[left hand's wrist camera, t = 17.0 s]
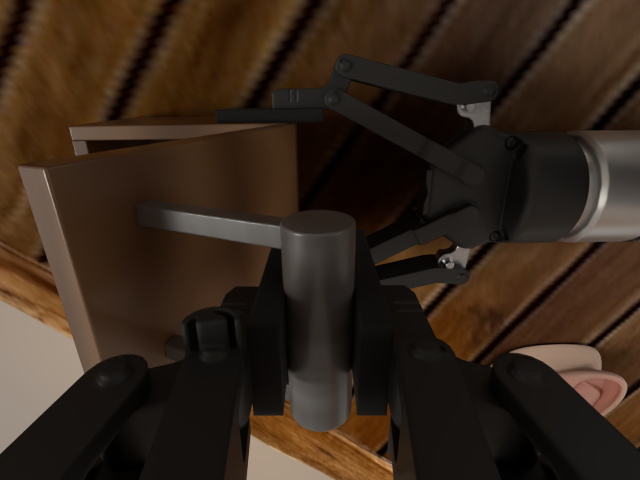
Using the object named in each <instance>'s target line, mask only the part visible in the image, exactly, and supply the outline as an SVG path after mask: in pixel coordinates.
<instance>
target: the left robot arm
mask: <svg viewBox="0 0 640 480" xmlns="http://www.w3.org/2000/svg"><path fill="white" fill-rule="evenodd" d="M181 330H182V336H183V342H184V348H185V356H184V359H182V360H180V361H177V362H174V363H171V364H166V365H162V366H157V367H153V368H148V363H147V361H146V360H145V359H144V358H143V357H142V356H138V355H135V354H124V355H118V356H114V357H111V358H108V359H106V360H104V361H102V362H99V363H97V364H96V365H95V366H93V367H92V368H91V369H89V370H88V371H87V372H86V373H85V374H84V375H83V376H82V377H80V379H78V380H77V381H76V382H75V383H74V384H73V385H72V386H71V387H70V388H69V389H68V390H67V391H66V392H65V393H64V394H63V395H62V396H61V397H60V398H59V399H57V400H56V401H55V402H54V403H53V404H52V405H51V406H50V407H49V408H48V409H47V410H46V411H45V412H44V413H43V414H42V415H41V416H40V417H39V418H38V419H37V420H36V421H34V422H33V423H32V424H31V425H30V426H29V427H28V428H27V429H26V430H25V431H24V432H23V433H22V434H21V435H20V436H19V437H18V438H17V439H16V440H15V441H14V442H13V443H11V444H10V445H9V446H8V447H7V448H6V449H5V450H4V451H3V452H2V453H1V454H0V480H246V479H247V467H248V456H249V445H250V434H251V430H250V419H249V416H250V412H251V407H252V403H253V412H254V415H283V411H284V402H285V394H286V385H287V376H288V349H287V328H286V306H285V291H284V288H283V273H282V256H281V249H277V248H271V250H270V253H269V256H268V259H267V262H266V266H265V269H264V272H263V275H262V278H261V281H260V284H259V286H236V287H234V288H233V289H232V290H231V291H229V292H228V293H227V294H226V295H225V297H224V299H223V301H222V303H221V306H220V307H216V306H215V307H209V308H203V309H201V310H198V311H195V312H193V313H191V314H190V315H188V316H187V317H185V319H184V320H183V321H182V322H181ZM352 373H353V382H354V390H355V399H356V408H357V415H387V405H388V404H389V408H390V413H391V419H390V430H389V440H388V450H387V454H391V456H392V467H393V478H394V480H640V451H639V450H638V449H637V448H636V447H635V446H634V445H633V444H632V443H631V442H630V441H629V440H627V439H626V438H625V437H624V436H623V435H622V434H621V433H620V432H619V431H618V430H617V429H616V428H615V427H614V426H613V425H612V424H611V423H610V422H609V421H607V420H606V419H605V418H604V417H603V416H602V415H601V414H600V413H599V412H598V411H597V410H596V409H595V408H594V407H593V406H592V405H591V404H590V403H588V402H587V401H586V400H585V399H584V398H583V397H582V396H581V395H580V394H579V393H578V392H577V391H576V390H575V389H574V388H573V387H572V386H571V385H570V384H568V383H567V382H566V381H565V380H564V379H563V378H562V377H561V376H560V375H559V374H558V373H557V372H556V371H555V370H554V369H552V368H551V367H550V366H548V365H547V364H546V363H544V362H543V361H540V360H538V359H536V358H534V357H532V356H528V355H524V354H520V353H504V354H501V355H498V356H497V357H496V358H495V359H494V360H493V365H492V367H490V366H485V365H481V364H476V363H472V362H468V361H465V360H462V359H459V358H457V357H456V356H455V353H454V352H453V350H452V349H451V347H450V346H449V345H448V344H446V343H445V342H444V341H442V340H440V339H438V338H436V337H435V335H434V332H433V330H432V328H431V326H430V324H429V322H428V320H427V318H426V316H425V314H424V312H423V309H422V307H421V305H420V304H419V301H418V299H417V297H416V295H415V293H414V292H413V291H411V290H410V289H409V288H408V287H406V286H405V285H381V283H380V280H379V277H378V274H377V271H376V267H375V264H374V261H373V258H372V255H371V252H370V249H369V245H368V242H367V239H366V236H365V233H364V230H356V243H355V282H354V322H353V351H352Z"/></svg>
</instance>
